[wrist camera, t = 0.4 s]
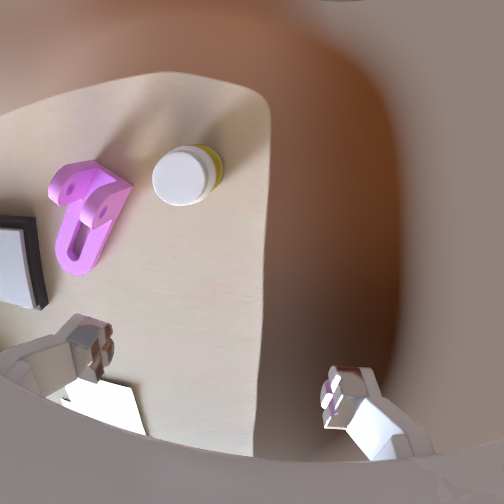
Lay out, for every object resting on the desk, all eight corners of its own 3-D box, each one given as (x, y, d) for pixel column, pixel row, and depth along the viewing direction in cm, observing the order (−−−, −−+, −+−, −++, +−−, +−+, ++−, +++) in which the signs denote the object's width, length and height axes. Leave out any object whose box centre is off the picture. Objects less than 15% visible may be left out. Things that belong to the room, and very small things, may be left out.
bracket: (93, 159, 29) (56, 166, 22) (133, 185, 30) (102, 198, 23) (56, 255, 32) (23, 277, 26) (89, 280, 33) (60, 308, 27)
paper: (163, 468, 47) (162, 473, 46) (87, 451, 47) (86, 455, 46) (130, 382, 38) (128, 386, 37) (40, 363, 39) (37, 367, 38)
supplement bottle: (203, 134, 28) (181, 131, 20) (235, 171, 29) (225, 181, 21) (167, 167, 29) (134, 177, 21) (198, 202, 30) (176, 224, 22)
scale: (-18, 214, 31) (-31, 219, 28) (35, 217, 31) (22, 223, 28) (-5, 290, 35) (-16, 298, 32) (48, 303, 35) (38, 313, 32)
